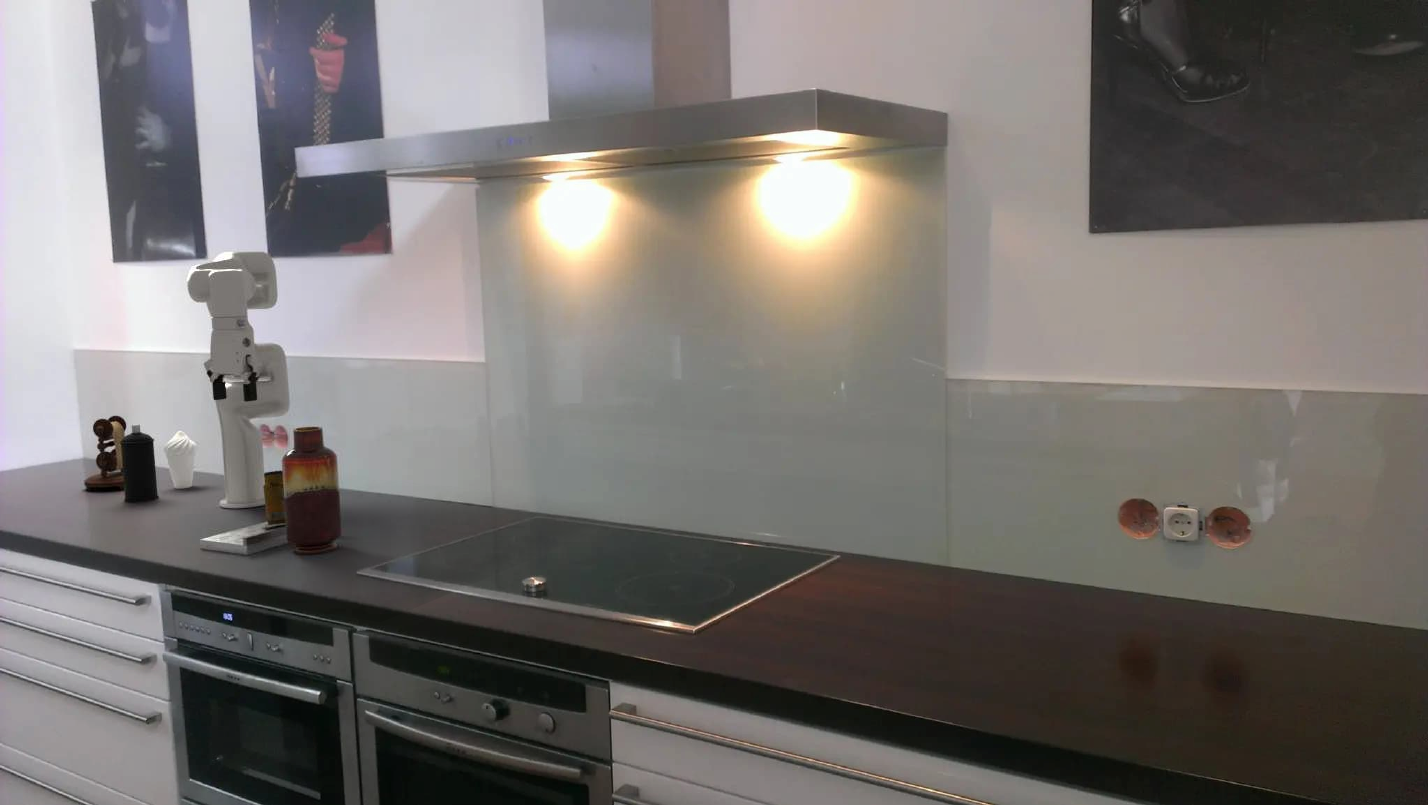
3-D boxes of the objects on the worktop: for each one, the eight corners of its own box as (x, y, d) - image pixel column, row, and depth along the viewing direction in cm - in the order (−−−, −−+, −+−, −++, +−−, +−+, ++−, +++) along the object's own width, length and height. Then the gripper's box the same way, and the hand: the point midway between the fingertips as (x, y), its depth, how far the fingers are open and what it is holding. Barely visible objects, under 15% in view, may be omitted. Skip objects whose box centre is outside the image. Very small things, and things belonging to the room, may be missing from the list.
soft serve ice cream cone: (190, 489, 302) (186, 432, 300) (160, 490, 302) (156, 433, 300) (204, 484, 310) (200, 428, 308) (175, 484, 310) (171, 428, 309)
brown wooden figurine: (126, 492, 301) (120, 420, 298) (73, 492, 301) (67, 421, 298) (154, 481, 315) (149, 413, 313) (103, 482, 315) (97, 414, 313)
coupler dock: (280, 526, 255) (278, 493, 254) (325, 531, 249) (323, 497, 248) (200, 548, 235) (197, 512, 234) (247, 554, 229) (244, 517, 228)
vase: (275, 553, 230) (267, 431, 227) (312, 541, 240) (305, 424, 237) (317, 557, 226) (310, 433, 223) (353, 545, 236) (346, 425, 233)
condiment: (294, 522, 250) (288, 470, 251) (303, 521, 243) (297, 467, 244) (260, 527, 246) (254, 474, 247) (269, 525, 239) (263, 471, 240)
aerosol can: (165, 498, 291) (159, 423, 289) (135, 503, 284) (129, 427, 282) (147, 495, 296) (142, 422, 293) (117, 500, 289) (111, 425, 287)
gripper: (271, 324, 246) (276, 399, 248) (216, 324, 253) (222, 397, 255) (244, 326, 239) (249, 403, 241) (189, 325, 247) (194, 400, 249)
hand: (235, 400), depth 248 cm, fingers open, 9 cm apart
